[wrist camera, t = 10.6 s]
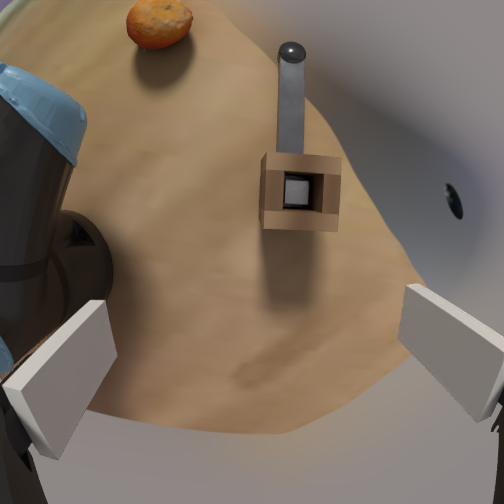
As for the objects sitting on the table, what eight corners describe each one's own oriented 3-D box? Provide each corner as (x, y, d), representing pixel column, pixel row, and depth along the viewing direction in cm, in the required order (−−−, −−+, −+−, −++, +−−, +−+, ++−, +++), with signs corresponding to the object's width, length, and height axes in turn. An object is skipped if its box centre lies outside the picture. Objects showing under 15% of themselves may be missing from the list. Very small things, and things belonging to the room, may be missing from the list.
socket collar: (258, 219, 33) (263, 228, 25) (261, 160, 32) (266, 151, 24) (316, 221, 33) (337, 231, 26) (319, 164, 32) (341, 157, 24)
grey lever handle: (263, 216, 36) (268, 222, 29) (269, 46, 31) (274, 19, 24) (306, 218, 36) (321, 225, 29) (310, 50, 31) (323, 25, 25)
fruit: (116, 24, 28) (129, -14, 21) (169, 19, 32) (191, -16, 25) (124, 69, 30) (139, 33, 23) (182, 61, 34) (206, 29, 27)
